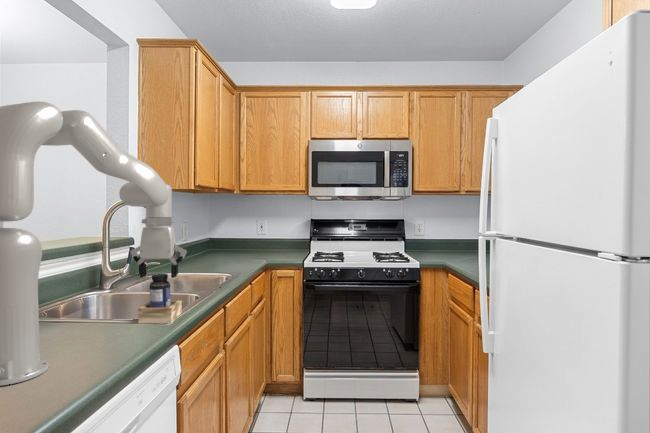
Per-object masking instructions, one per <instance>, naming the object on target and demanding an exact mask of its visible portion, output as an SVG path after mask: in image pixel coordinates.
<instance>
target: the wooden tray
mask: <svg viewBox="0 0 650 433" xmlns="http://www.w3.org/2000/svg"><path fill="white" fill-rule="evenodd" d="M182 302H183V300H171V306H170V307H166V308H150V301H149V302H147V303H145V304H144V305H142V306H140V307H139V308H138V309H137V314H138V315H137V316H138V318H137V319H138V322H137V323H138V324H172V323H173V322H174V321H176V318H177V317H178V316H179V315H180V314H181V313H183V312H182V311H183V307H182V306H183V305H182ZM181 315H182V314H181ZM181 315H180V316H181ZM180 316H179V317H180ZM179 317H178V318H179ZM178 318H177V319H178ZM167 322H169V323H167Z"/></svg>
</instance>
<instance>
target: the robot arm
mask: <svg viewBox="0 0 650 433" xmlns="http://www.w3.org/2000/svg"><path fill="white" fill-rule="evenodd" d="M41 146H53V147H54V146H57V147H59V146H60V147H61V146H72V147H73V148H74V149H75V150H76V151H77V152H78V153H79V154H80V155H81V156H82V157H83V158H84V159H85V160H86V161H87V162H88V164H90V166H92V167H93V168H94V169H95V170H96V171H97V172H100V173H101V174H104V175H107V176H109V177H110V176H111V177H113V178H117V179H120V180H124V181H127V183H125V184H123V185H122V186H121V187H120V190H119V192H118V195H119V199H120V200H121V202H122V203H124V204H125V205H126V206H129V207H137V208H138V207H142V208H144V207H145V209H146V210H145V218H144V219H143V218H141V224H145V226H144V227H142V231H141V237H140V244H139V246H137V247H136V248H133V249H131V250H130V251H129V252H130V254H131V256H132V257H133V258H132V259H133V260H134V261H135V262H136V263H137V265H138V275H139V277H140V279H142V278H145V277H147V261H148V260H169V261H170V262H171V263H172V265H171V266H170V267H171V269H170V270H171V271H170V277H171V279H173V278H176V277H177V276H178V274H179V264H180V263H181V262H182V261H183V260H184V258H185V256H187V255H186V254H187V252H188V251H187V249H184V248H182V247H180V246H178V244H177V239H176V233H175V228H174V226H173V225H172V223H173V222H172V219H173V216H172V214H173V213H172V209H173V207H172V206H173V204H172V203H173V202H172V201H173V199H172V198H173V189H172V186H171V185H170V184H167V183H165V180H163V179H162V177H161V176H160V175H159V174H158V173H157V171H156V170H155V169H153V167H151V165H148V164H147V163H145V162H143V161H142V160H140V159H139V158H137V157H134V156H133V155H132V154H130V153H128V152H125V151H124V150H123V149H122V148H121V147H120V146H119V145H118V143H117V142H116V141H115V140H114V139H113V138H112V136H110V134H109V133H108V132H107V131H106V129H104V128H103V126H102V125H101V124H100V123H99V121H97V120H96V118H95V117H94V115H92V114H90V113H89V112H87V111H85V110H81V109H74V110H73V109H72V110H63V111H61V110H60V109H59V107H58V106H56V105H54V104H52V103H49V102H46V101H30V102H28V101H27V102H21V103H14V104H7V105H0V387H2V386H9V384H10V385H13V384H14V385H15V384H19V383H21V382H25V381H28V380H30V379H33V378H36V377H38V376H40V375H42V374H43V373H45V372H46V371H47V370H48V369H49V361H48V360H47V359H44V358H41V356H40V355H41V354H40V350H41V349H40V320H39V319H40V316H39V314H40V313H39V312H40V311H39V310H40V309H39V275H40V274H39V272H40V266H41V263H42V257H43V247H42V246H43V245H42V244H41V241H40V240H39V238H38V237H37V236H36V235H35V234H33V233H32V232H30V231H28V230H25V229H21V228H15V227H4V223H5V222H6V223H7V222H8V223H9V222H18V221H22V220H24V219H27V218H28V217H29V216H31V214H32V212H33V209H34V202H35V189H34V188H35V186H34V184H35V181H34V178H35V177H34V176H35V175H34V171H35V170H34V167H35V159H36V155H37V152H38V151H39V149H40V147H41ZM138 252H139V255H138ZM177 253H180V254H179V256H178V257H177Z"/></svg>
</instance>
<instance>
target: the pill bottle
mask: <svg viewBox="0 0 650 433" xmlns="http://www.w3.org/2000/svg"><path fill="white" fill-rule="evenodd" d="M168 276H169V275H168V273H155V274H152V275H151V280H152V282H150V284H149V302H150V308H166V307H170V306H171V301H172V300H171V298H172V297H171V282H170V281H168V278H169V277H168Z"/></svg>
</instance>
